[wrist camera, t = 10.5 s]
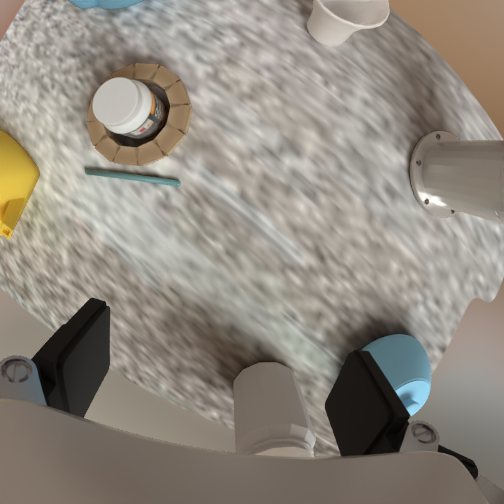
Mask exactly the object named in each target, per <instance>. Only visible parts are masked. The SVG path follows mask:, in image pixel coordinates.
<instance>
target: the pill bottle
mask: <svg viewBox="0 0 504 504" xmlns="http://www.w3.org/2000/svg"><path fill="white" fill-rule="evenodd" d="M92 107H93V113H94V115H95V117H96V118H97V119H98V120H99V121H100V122H101V123H103V124H104V126H105V127H106V128H107V129H109V130H110V131H112V132H114V133H117V134H121V135H124V136H128V137H132V138H136V139H145V138H148V137H151V136H153V135H154V134H156V133H157V132H158V131H159V130H160V128H161V127H162V126H163V123H164V121H165V116H166V110H165V106H164V104H163V102H162V101H161V100H160V98H159V97H157V95H156V94H154V93H153V92H152V91H151V90H150V89H149V88H148V87H147V86H146V85H145V84H144V83H142V82H140V81H137V80H130V79H127V78H124V77H116V78H112V79H110V80H108V81H106V82H105V83H103V84H102V85H101V86H100V87H99V89H98V90H97V92H96V94H95V96H94V98H93V104H92Z"/></svg>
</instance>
